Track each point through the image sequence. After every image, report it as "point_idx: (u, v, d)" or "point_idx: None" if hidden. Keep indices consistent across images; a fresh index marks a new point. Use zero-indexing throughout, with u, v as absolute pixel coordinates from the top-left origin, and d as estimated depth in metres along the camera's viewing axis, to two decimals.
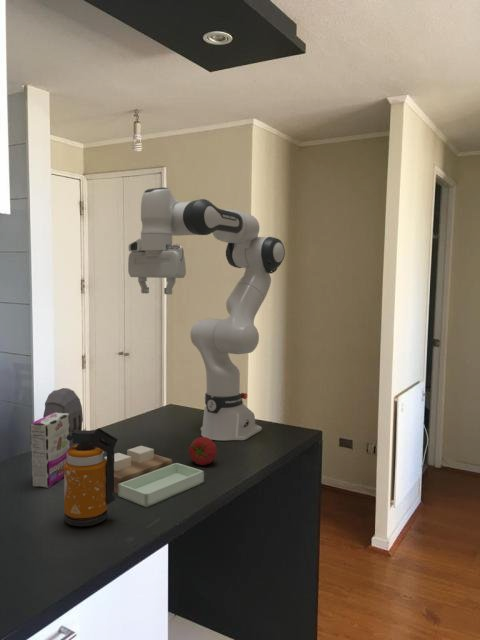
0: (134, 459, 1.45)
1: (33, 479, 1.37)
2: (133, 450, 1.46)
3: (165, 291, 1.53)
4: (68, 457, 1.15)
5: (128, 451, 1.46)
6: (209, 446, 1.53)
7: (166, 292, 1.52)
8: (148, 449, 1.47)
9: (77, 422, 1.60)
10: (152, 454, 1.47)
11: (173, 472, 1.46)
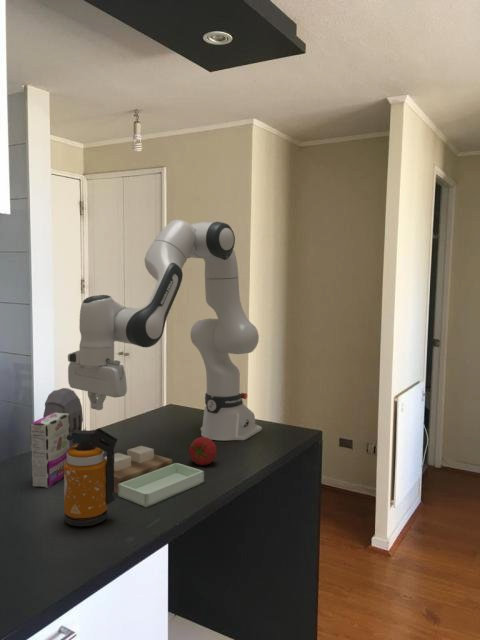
0: (134, 459, 1.45)
1: (33, 479, 1.37)
2: (133, 450, 1.46)
3: (95, 406, 1.43)
4: (68, 457, 1.15)
5: (128, 451, 1.46)
6: (209, 446, 1.53)
7: (96, 408, 1.43)
8: (148, 449, 1.47)
9: (77, 422, 1.60)
10: (152, 454, 1.47)
11: (173, 472, 1.46)
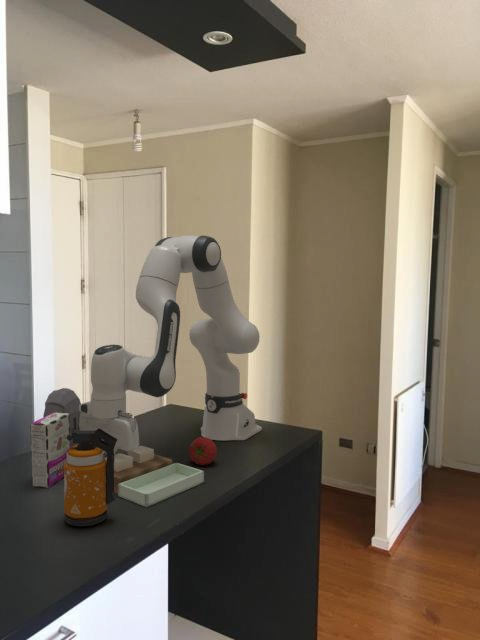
0: (134, 459, 1.45)
1: (33, 479, 1.37)
2: (133, 450, 1.46)
3: None
4: (68, 457, 1.15)
5: (128, 451, 1.46)
6: (209, 446, 1.53)
7: None
8: (148, 449, 1.47)
9: (77, 422, 1.60)
10: (152, 454, 1.47)
11: (173, 472, 1.46)
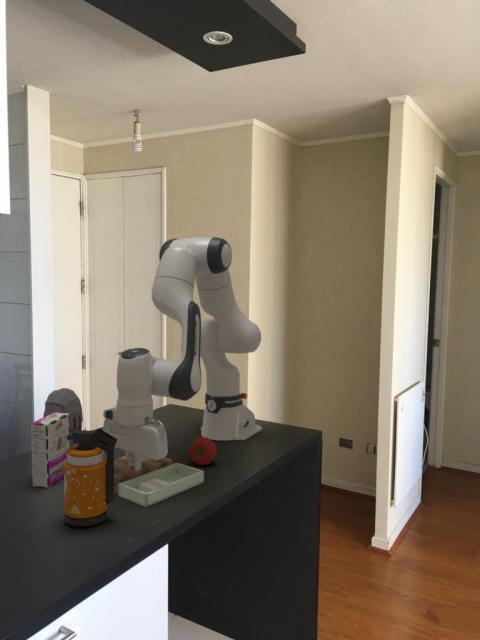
0: None
1: (33, 479, 1.37)
2: None
3: (133, 467, 1.35)
4: (68, 457, 1.15)
5: None
6: (209, 446, 1.53)
7: (134, 468, 1.35)
8: None
9: (77, 422, 1.60)
10: None
11: (173, 472, 1.46)
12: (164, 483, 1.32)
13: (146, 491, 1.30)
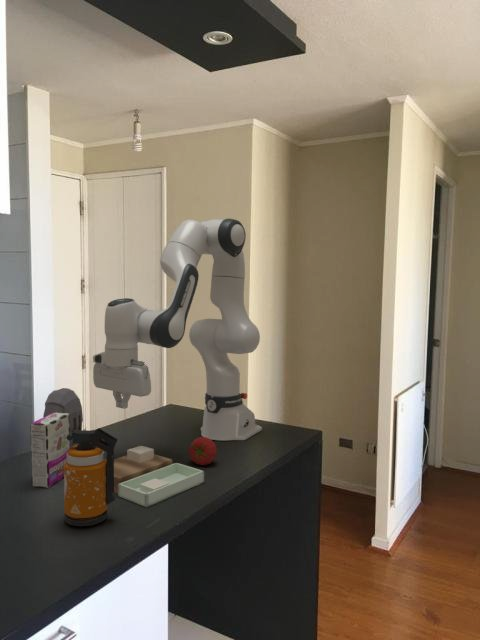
0: (134, 459, 1.45)
1: (33, 479, 1.37)
2: (133, 450, 1.46)
3: (120, 405, 1.50)
4: (68, 457, 1.15)
5: (128, 451, 1.46)
6: (209, 446, 1.53)
7: (121, 406, 1.50)
8: (148, 449, 1.47)
9: (77, 422, 1.60)
10: (152, 454, 1.47)
11: (173, 472, 1.46)
12: (164, 483, 1.32)
13: (146, 491, 1.30)
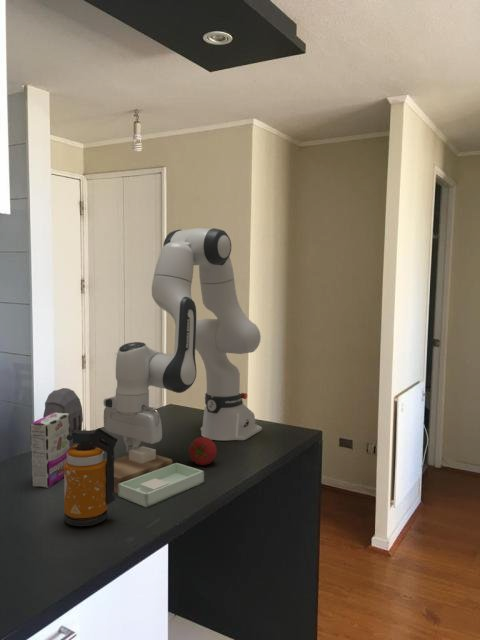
0: (136, 460, 1.44)
1: (33, 479, 1.37)
2: (135, 451, 1.46)
3: None
4: (68, 457, 1.15)
5: (130, 452, 1.46)
6: (209, 446, 1.53)
7: None
8: (150, 450, 1.47)
9: (77, 422, 1.60)
10: (154, 455, 1.47)
11: (173, 472, 1.46)
12: (164, 483, 1.32)
13: (146, 491, 1.30)
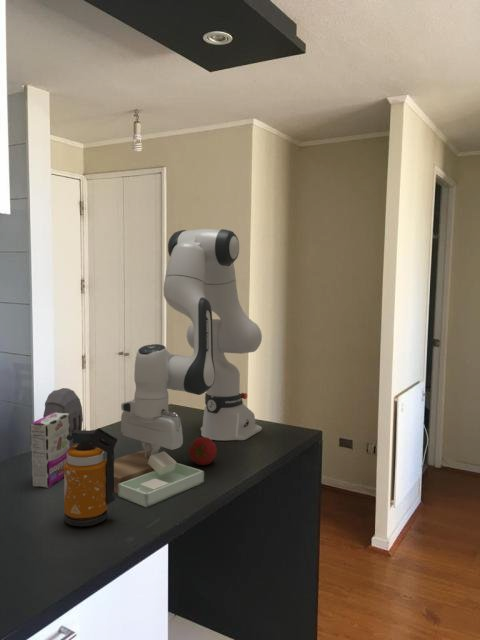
0: (155, 468, 1.40)
1: (33, 479, 1.37)
2: (156, 458, 1.40)
3: None
4: (68, 457, 1.15)
5: (151, 457, 1.41)
6: (209, 446, 1.53)
7: None
8: (171, 461, 1.42)
9: (77, 422, 1.60)
10: (173, 466, 1.42)
11: (173, 472, 1.46)
12: (164, 483, 1.32)
13: (146, 491, 1.30)
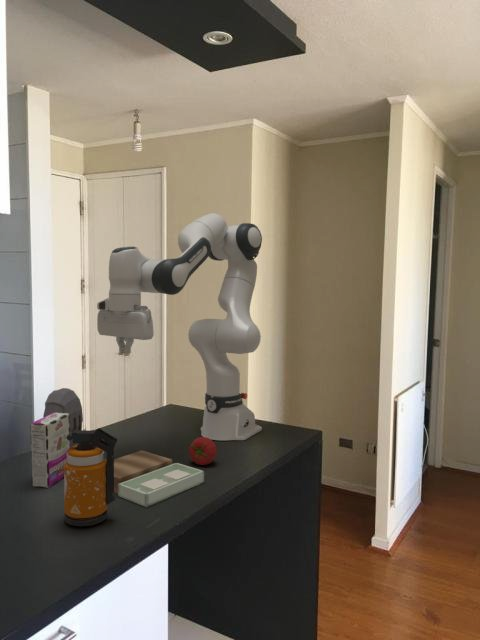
0: (168, 478, 1.37)
1: (33, 479, 1.37)
2: None
3: (123, 350, 1.54)
4: (68, 457, 1.15)
5: None
6: (209, 446, 1.53)
7: (124, 351, 1.53)
8: None
9: (77, 422, 1.60)
10: None
11: None
12: (164, 483, 1.32)
13: (146, 491, 1.30)
